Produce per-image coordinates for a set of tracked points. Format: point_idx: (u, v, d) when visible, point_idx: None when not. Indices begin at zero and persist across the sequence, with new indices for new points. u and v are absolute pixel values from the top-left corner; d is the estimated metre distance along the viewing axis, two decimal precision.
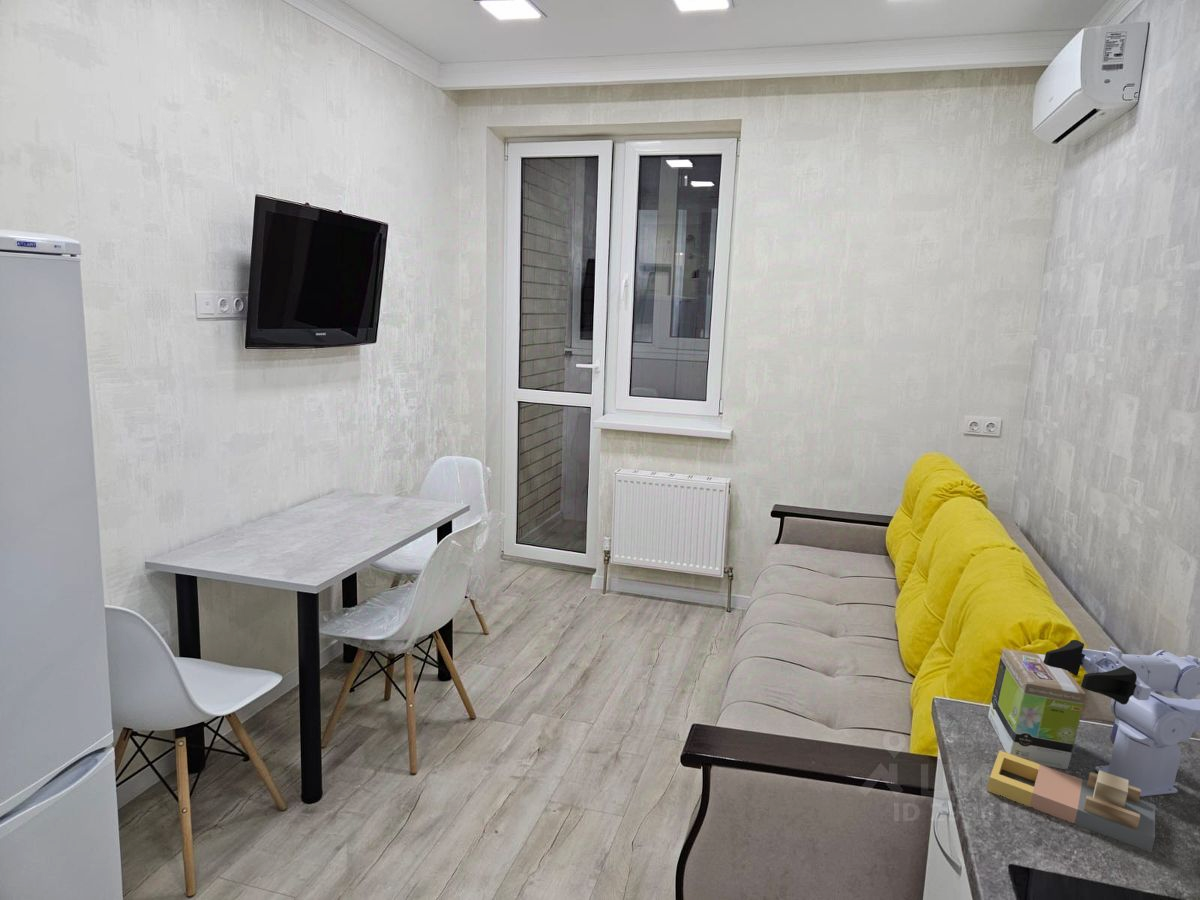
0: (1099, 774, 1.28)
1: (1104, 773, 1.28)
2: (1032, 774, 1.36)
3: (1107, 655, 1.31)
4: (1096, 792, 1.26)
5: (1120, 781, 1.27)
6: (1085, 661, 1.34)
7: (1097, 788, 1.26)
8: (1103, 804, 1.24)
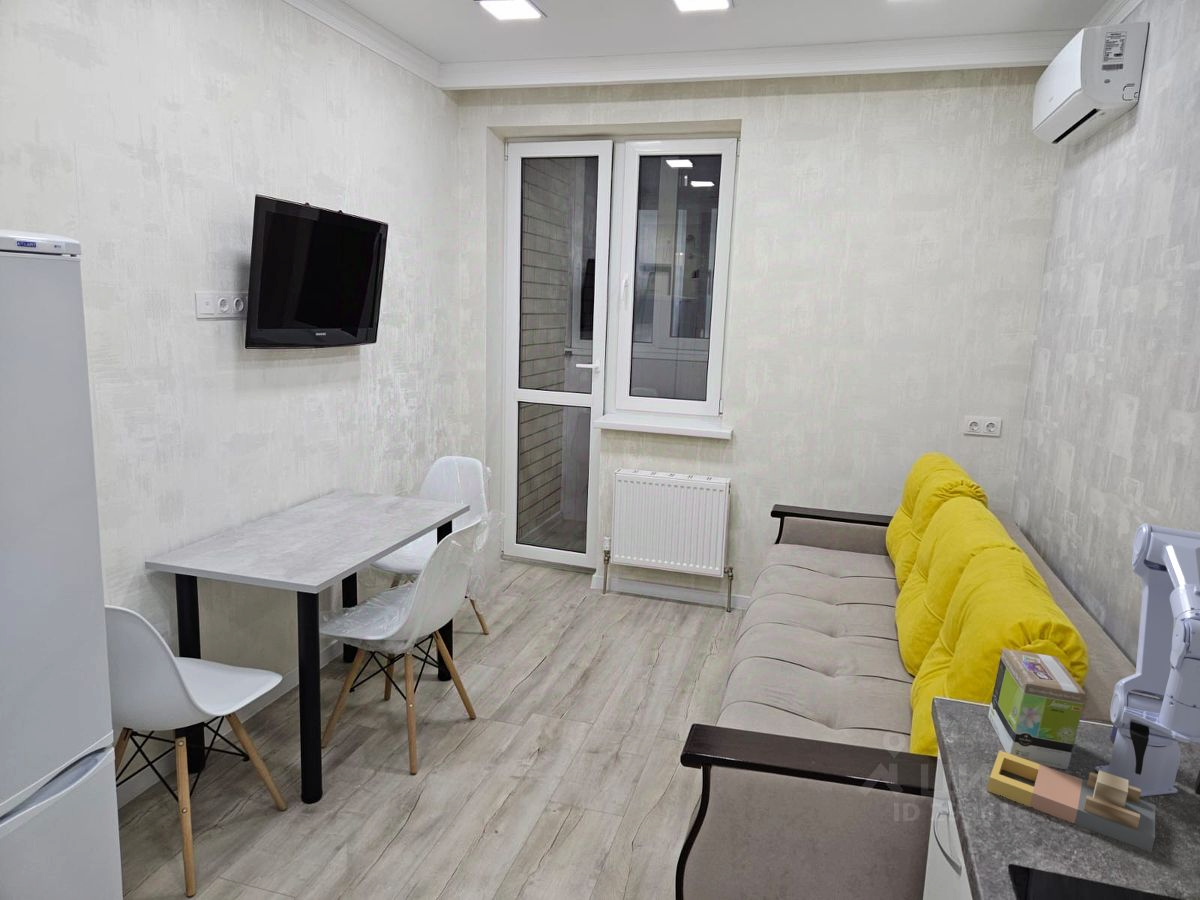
0: (1099, 774, 1.28)
1: (1104, 773, 1.28)
2: (1032, 774, 1.36)
3: None
4: (1096, 792, 1.26)
5: (1120, 781, 1.27)
6: None
7: (1097, 788, 1.26)
8: (1103, 804, 1.24)
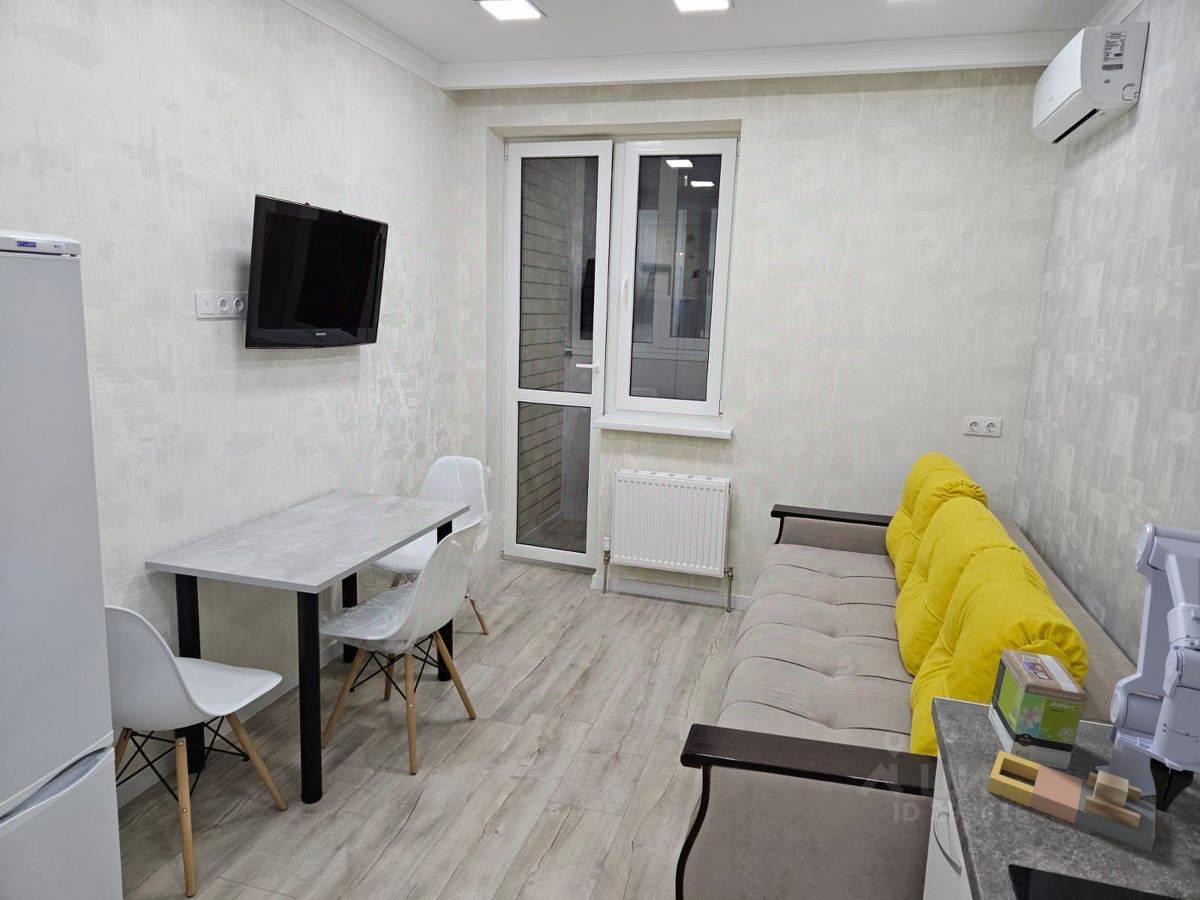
0: (1099, 774, 1.28)
1: (1104, 773, 1.28)
2: (1032, 774, 1.36)
3: None
4: (1096, 792, 1.26)
5: (1120, 781, 1.27)
6: (1146, 756, 1.23)
7: (1097, 788, 1.26)
8: (1103, 804, 1.24)
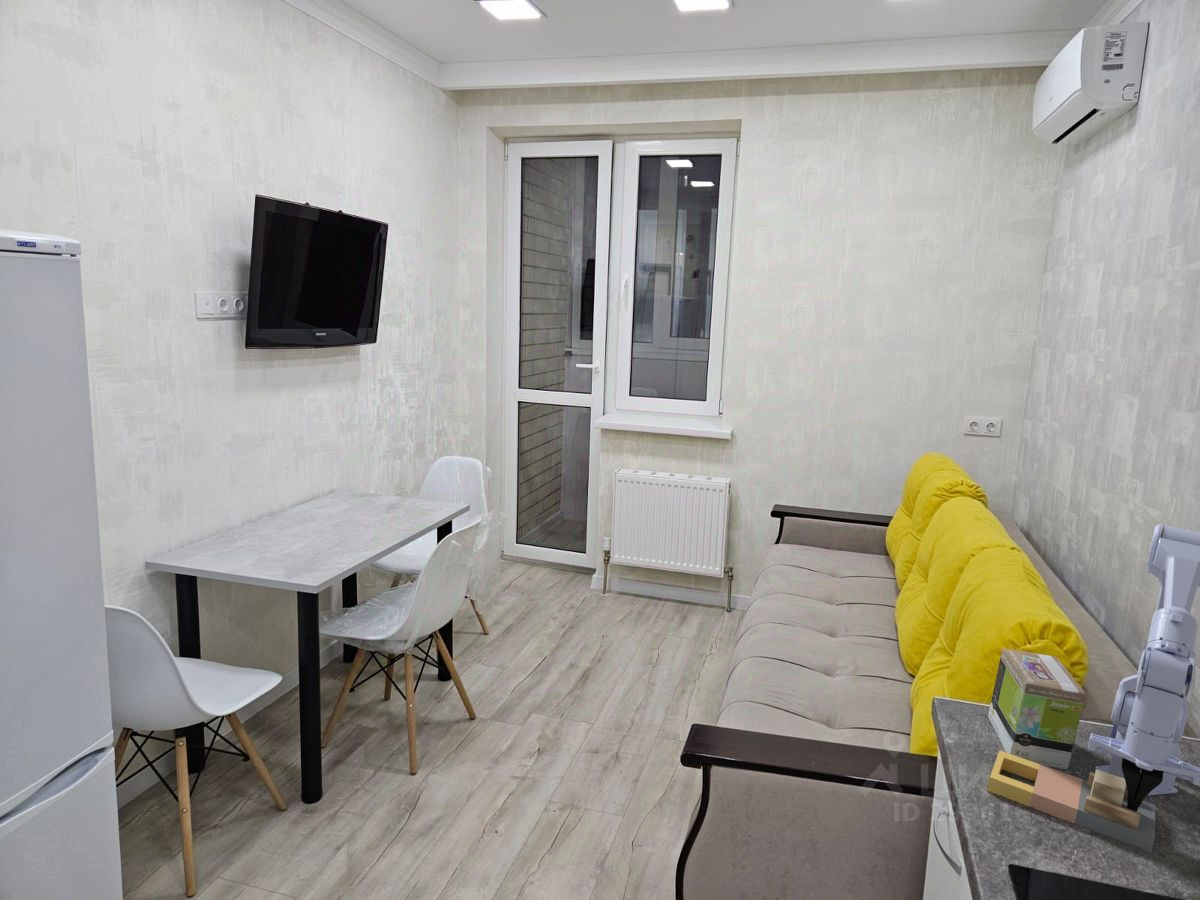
0: (1096, 773, 1.28)
1: (1101, 772, 1.29)
2: (1032, 774, 1.36)
3: None
4: (1093, 791, 1.26)
5: (1117, 780, 1.27)
6: (1118, 756, 1.26)
7: (1094, 787, 1.26)
8: (1103, 804, 1.24)
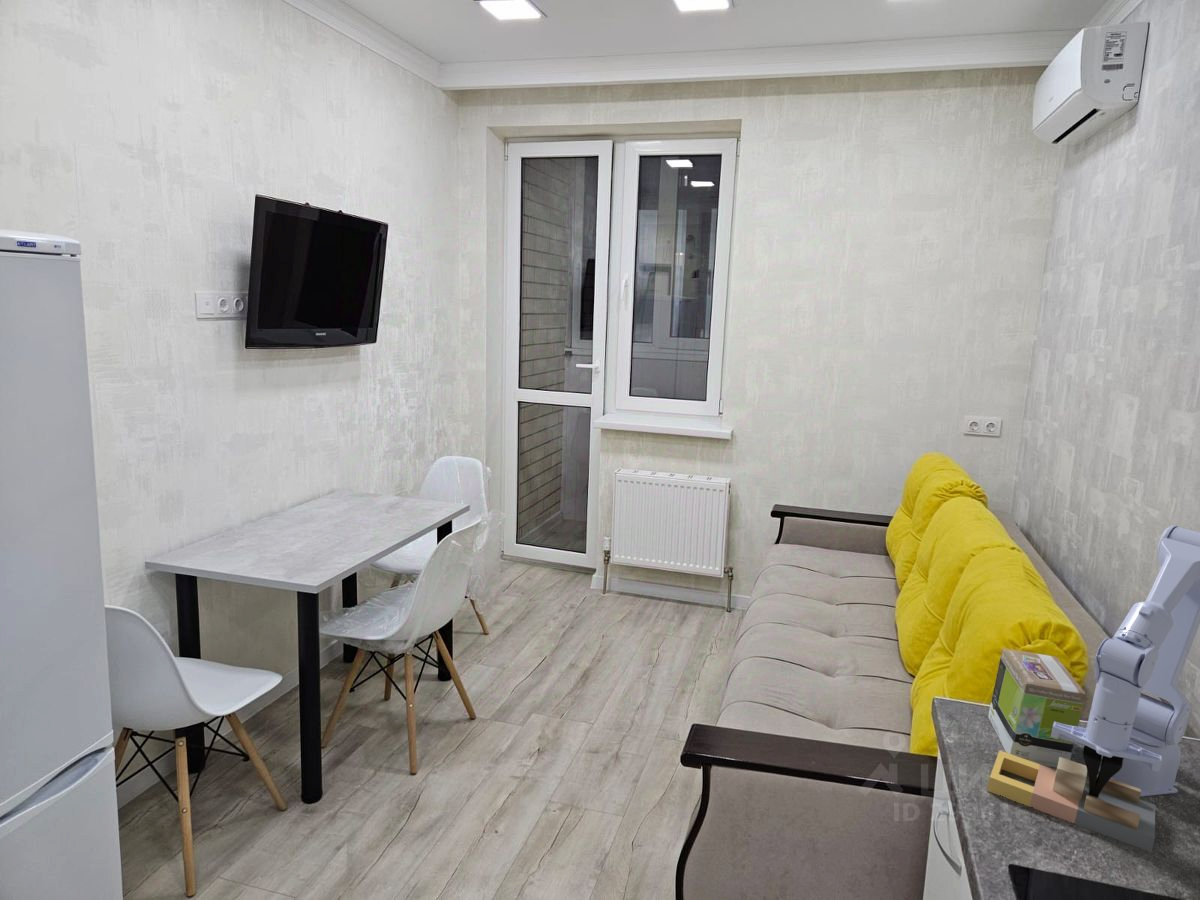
0: (1059, 761, 1.31)
1: (1064, 760, 1.31)
2: (1032, 774, 1.36)
3: None
4: (1056, 778, 1.29)
5: (1079, 767, 1.29)
6: None
7: (1057, 774, 1.29)
8: (1103, 804, 1.24)
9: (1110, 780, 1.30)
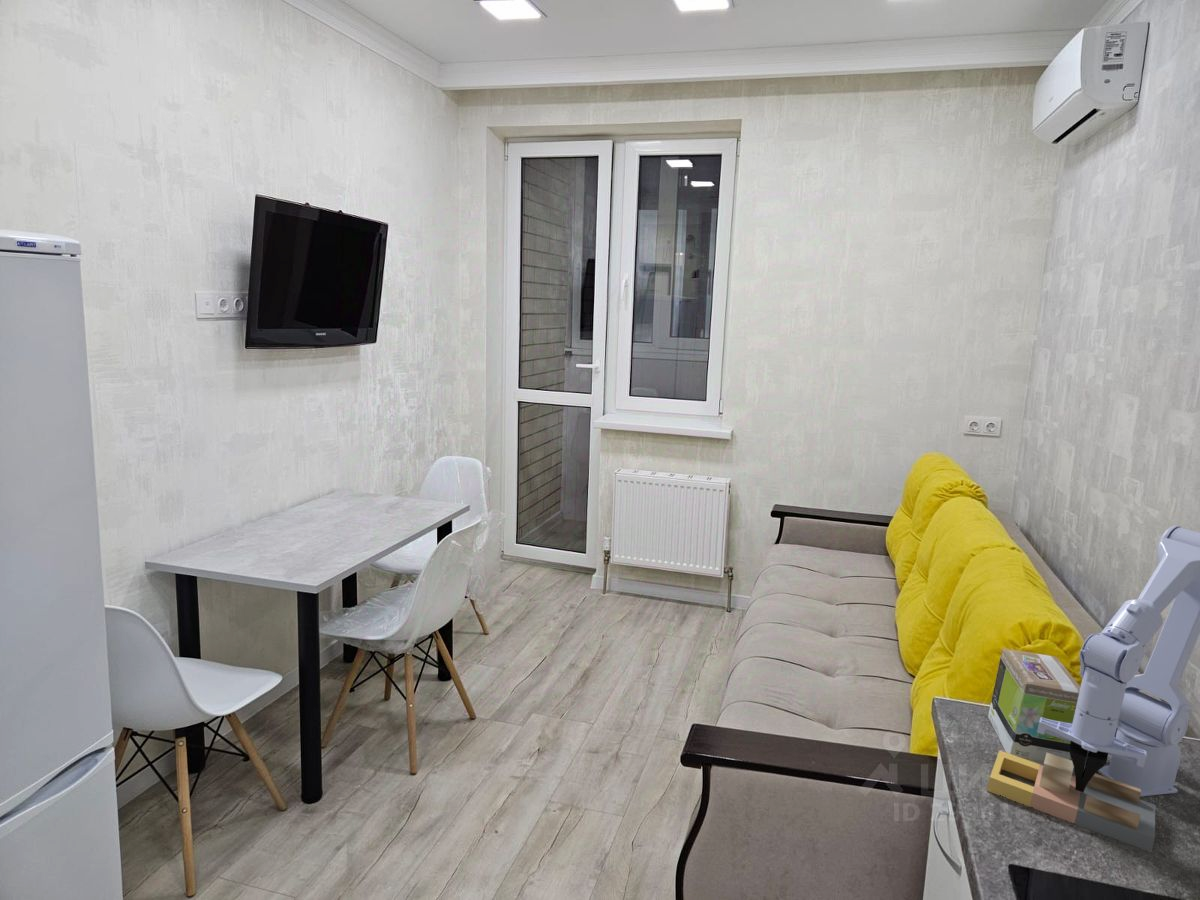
0: (1046, 756, 1.32)
1: (1051, 755, 1.32)
2: (1032, 774, 1.36)
3: None
4: (1043, 773, 1.30)
5: (1066, 763, 1.30)
6: None
7: (1044, 769, 1.30)
8: (1103, 804, 1.24)
9: (1110, 780, 1.30)
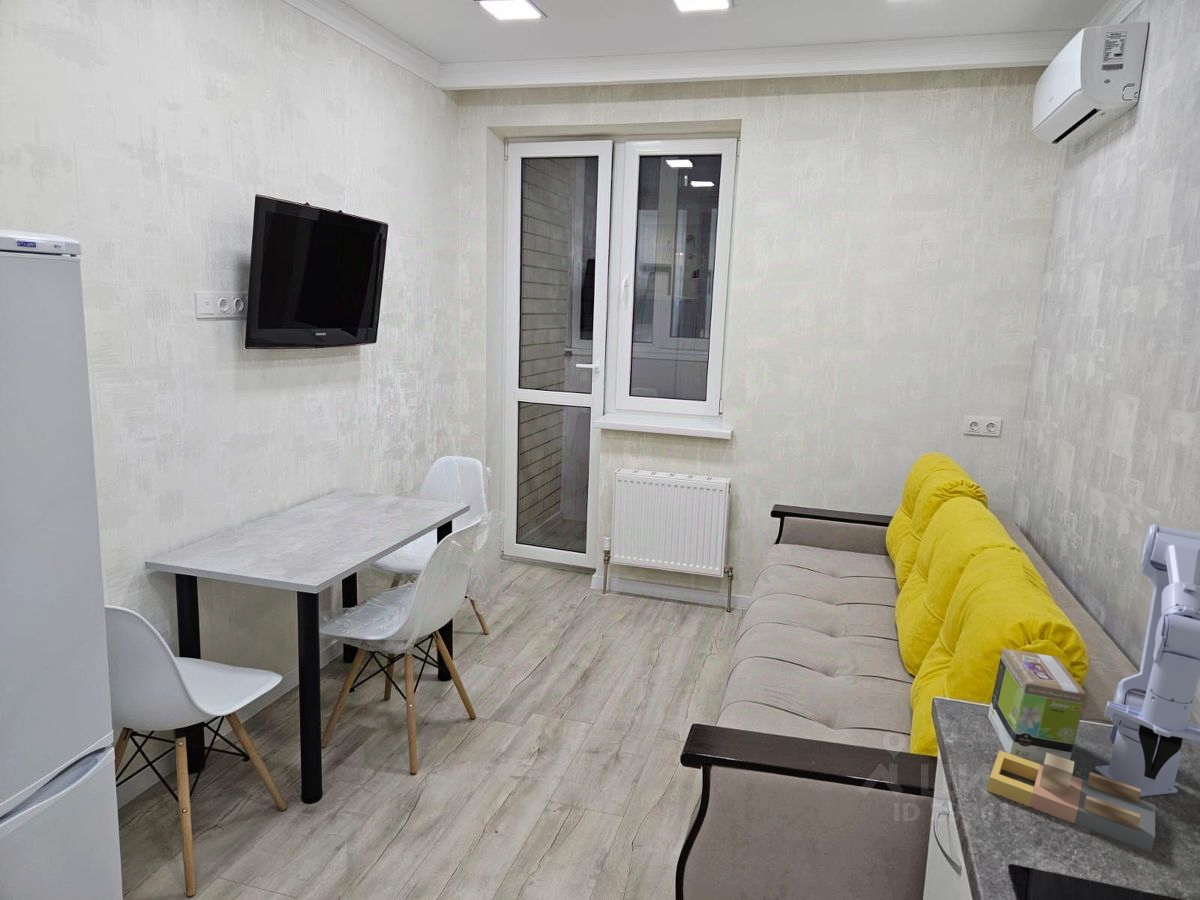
0: (1046, 756, 1.32)
1: (1051, 755, 1.32)
2: (1032, 774, 1.36)
3: None
4: (1043, 773, 1.30)
5: (1066, 763, 1.30)
6: None
7: (1044, 769, 1.30)
8: (1103, 804, 1.24)
9: (1110, 780, 1.30)
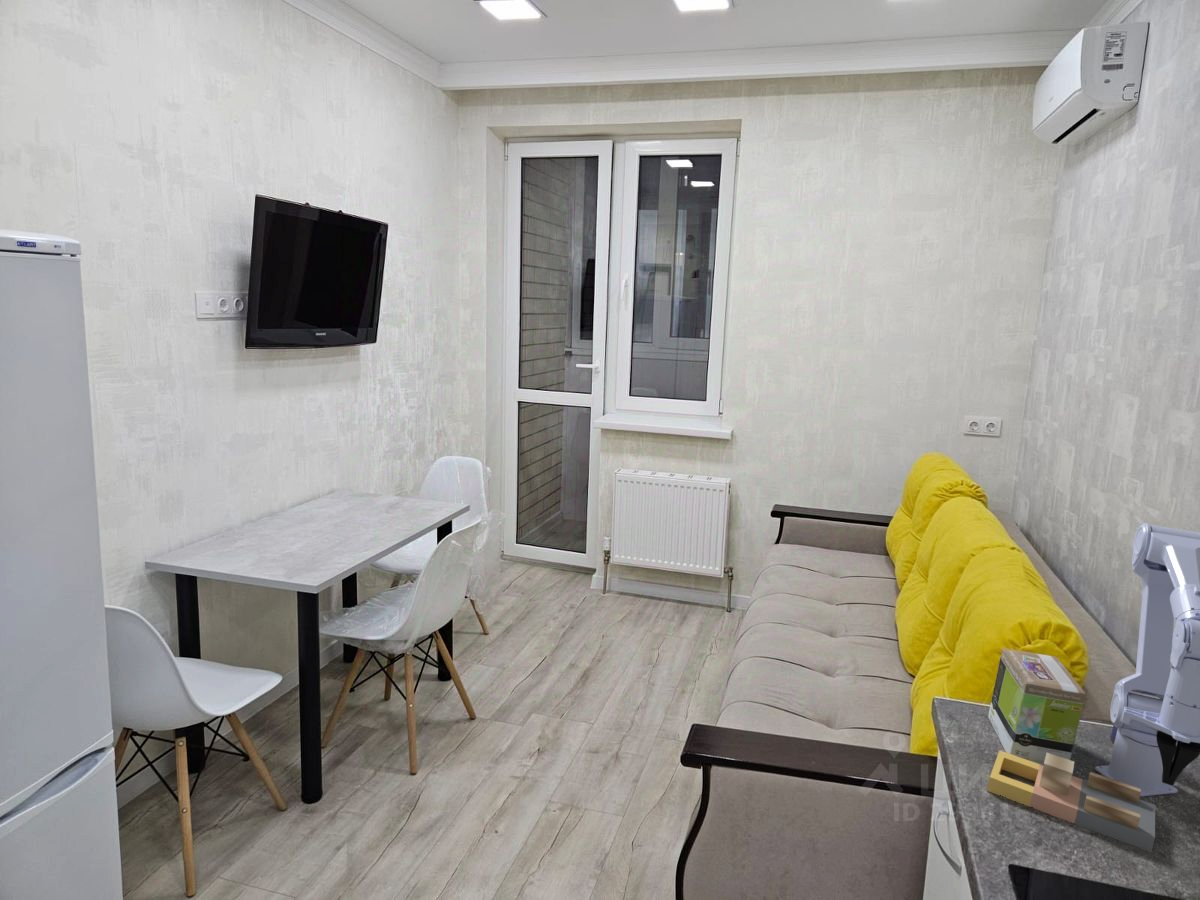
0: (1046, 756, 1.32)
1: (1051, 755, 1.32)
2: (1032, 774, 1.36)
3: None
4: (1043, 773, 1.30)
5: (1066, 763, 1.30)
6: (1153, 729, 1.23)
7: (1044, 769, 1.30)
8: (1103, 804, 1.24)
9: (1110, 780, 1.30)
